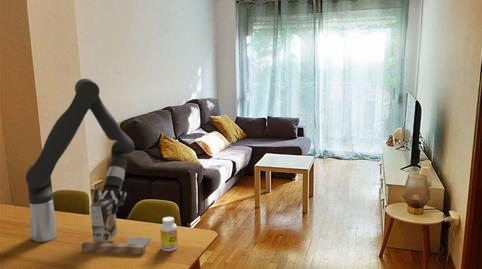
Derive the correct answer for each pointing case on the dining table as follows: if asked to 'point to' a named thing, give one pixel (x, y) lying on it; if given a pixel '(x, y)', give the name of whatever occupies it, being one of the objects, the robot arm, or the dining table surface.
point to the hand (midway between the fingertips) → (105, 213)
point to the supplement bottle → (168, 234)
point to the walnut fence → (113, 248)
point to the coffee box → (103, 220)
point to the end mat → (138, 241)
